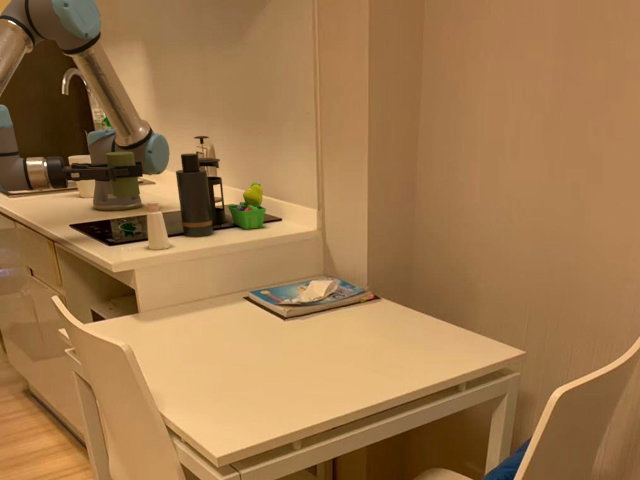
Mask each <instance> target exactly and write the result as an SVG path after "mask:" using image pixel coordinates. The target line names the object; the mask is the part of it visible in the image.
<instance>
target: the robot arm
mask: <svg viewBox="0 0 640 480" xmlns="http://www.w3.org/2000/svg"><path fill="white" fill-rule="evenodd" d="M100 17H101V12H100V9H99V6H98V4H97V3H96V1H95V0H11V1H9V2H8V4H7V5H6V7H4V9H3V10H2V12H1V13H0V97H1V96H2V94H3V92H4V91H5V89H6V87H7V85H8V84H9V82H10V81H11V78H12V77H13V75H14V73H15V72H16V70H17V68H18V67H19V64H21V61H22V59H23V58H24V56H25V54H30V53H31V52H33V50H34V48H35V46H37V44H39V43H40V42H43V41H55V42H56V44H57V46H58V47H59V49H60V51H61V52H62V54H63V55H65V56H66V57H67V56H68V57H70V58H72V60H73V62H74V64H75V65H76V68H77V69H78V71H79V72H80V74H81V75H82V78H83V79H84V81H85V83H86V85H87V86H88V87H89V90H90V92H91V93H92V94H93V96H94V98H95V99H96V102H97V103H98V105H99V106H100V109H101V110H102V112H103V113H104V115H105V117H106V119H107V121H108V122H109V124H110V125H111V127H112V128H108V129H106V128H105V129H101V130H94V131H90V132H89V133H88V134H87V138H86V139H87V149H88V152H89V155H90V158H91V163H80V164H79V163H72V164H71V166H70V165H68V166H66V165H65V161H64V158H63V157H62V156H47V157H46V158H45V157H44V156H35V157H34V156H33V157H32V156H31V157H21V156H20V152H19V147H18V142H17V138H16V134H15V130H14V123H13V121H12V118H11V115H10V111H9V109H8V107H7V106H6V105H4V104H0V192H5V193H9V192H10V193H11V192H23V191H36V190H38V192H39V193H43V192H44V191H43V190H50V189H51V188H52V189H54V190H60V189H61V190H63V189H67V188H68V187H69V180H71V181H72V182H76V181H81V180H95V189H94V197H92V198H93V199H92V206H93V209H95V210H98V211H108V212H109V211H111V212H112V211H125V210H133V209H137V208H140V207H142V206H143V203H142V199H141V196H140V194H139V195H136V196H128V197H117V196H113V194H112V189H111V183H110V180H112V179H113V181H116V178H129V177H137V178H143V177H144V175H145V176H146V175H148V176H153V175H155V176H157V175H161V174H162V173H164V172H165V170H166V169H167V167H168V166H169V161H170V146H169V141H168V140H167V138H166V137H165V136H164V135H163V134H161V133H155V132H154V130H153V129H152V127H151V124H150V123H149V122H148V120H146V119H142V118H141V117H140V115H139V113H138V110H137V109H136V108H135V105H134V104H133V102H132V100H131V98H130V96H129V94H128V92H127V91H126V88H125V87H124V84H123V83H122V81H121V79H120V78H119V75H118V73H117V72H116V70H115V68H114V66H113V64H112V62H111V61H110V59H109V56H108V55H107V53H106V52H105V49H104V47H103V46H102V44H101V40H102V39H101V38H102V32H101V29H102V20H101V18H100ZM110 152H133V153H134V159H135V165H131V166H115V169H114V167H108V166H107V160H106V153H110Z"/></svg>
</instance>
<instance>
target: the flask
mask: <svg viewBox="0 0 640 480" xmlns="http://www.w3.org/2000/svg"><path fill="white" fill-rule="evenodd" d="M198 158H199V154H198V153H194V152H193V153H191V152H190V153H181V154H180V161H181V167H182V169H178V170H175V176H176V184H177V191H178V200H179V201H178V202H179V206H180V207H179V209H180V215H181V226H182V231H183V232H182V233H183V235H184V236H186V237H193V238H199V237H200V238H201V237H208V236H211V235H213V234H214V227H213V226H214V225H212V216H211V207H210V197H209V188H208V178H207V176H208V171H207V169H205V170H204V168H203V169H202V168H199V160H198Z"/></svg>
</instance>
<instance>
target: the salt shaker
mask: <svg viewBox="0 0 640 480" xmlns="http://www.w3.org/2000/svg"><path fill="white" fill-rule="evenodd" d="M146 204H147V209H148V212H146V222H147V224H146V225H147V243H148V248H149V249H150V250H154V251H155V250H156V251H158V250H166V249H169V248H170V247H171V245H170V244H171V243H170V240H169V236H168V231H167V227H166V223H165V219H164V216H163V215H164V214H163V212H162V211H160V202H159V201H158V200H150V201H147V202H146Z"/></svg>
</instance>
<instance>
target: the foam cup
mask: <svg viewBox="0 0 640 480" xmlns="http://www.w3.org/2000/svg"><path fill="white" fill-rule="evenodd" d="M67 159H68V164H69V166H71V164H72V163H79V164H80V163H91V158H90V154H84V155H83V154H79V155H71V156H68V157H67ZM75 183H76V184H75V185H76V188H77V190H78V194H79V196H80V198H85V199H86V198H93V197H94V189H95V180H81V181H75Z"/></svg>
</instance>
